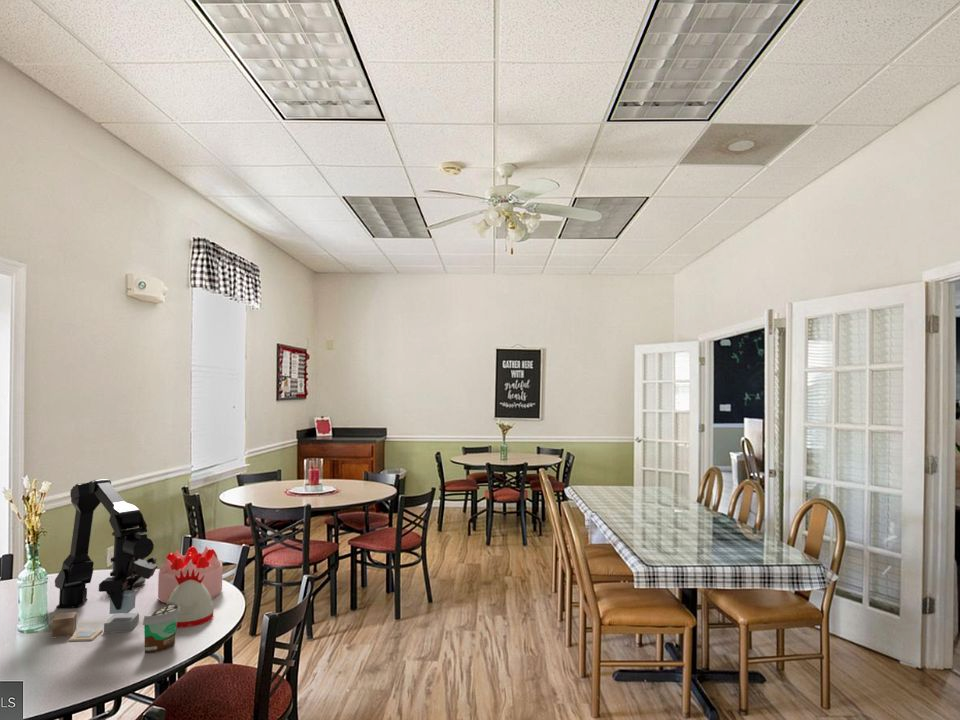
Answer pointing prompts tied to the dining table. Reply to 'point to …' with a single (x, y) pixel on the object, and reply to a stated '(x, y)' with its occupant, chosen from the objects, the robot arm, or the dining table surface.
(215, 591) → the cake
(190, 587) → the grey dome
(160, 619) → the food container
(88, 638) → the tan flat square frame
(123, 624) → the base block
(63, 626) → the walnut cube
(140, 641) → the dining table surface
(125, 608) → the slate cube
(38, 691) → the dining table surface
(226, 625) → the dining table surface
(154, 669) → the dining table surface
